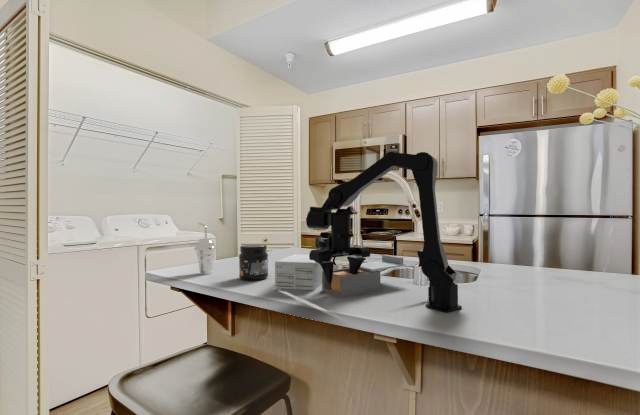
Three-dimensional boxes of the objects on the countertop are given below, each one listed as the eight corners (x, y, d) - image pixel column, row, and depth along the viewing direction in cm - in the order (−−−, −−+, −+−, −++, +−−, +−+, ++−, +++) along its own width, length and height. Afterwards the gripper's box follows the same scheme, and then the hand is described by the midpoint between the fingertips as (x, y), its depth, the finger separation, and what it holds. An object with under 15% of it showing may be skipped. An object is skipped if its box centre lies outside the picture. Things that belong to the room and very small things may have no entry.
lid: (405, 266, 107) (405, 257, 107) (371, 271, 99) (371, 262, 99) (383, 261, 115) (383, 254, 115) (350, 266, 107) (350, 258, 107)
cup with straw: (194, 276, 127) (193, 223, 127) (194, 272, 136) (194, 222, 136) (217, 274, 130) (216, 223, 130) (216, 270, 139) (216, 222, 139)
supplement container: (239, 276, 127) (239, 244, 127) (268, 274, 129) (267, 243, 129) (238, 282, 117) (237, 247, 117) (268, 280, 119) (268, 246, 119)
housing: (380, 292, 101) (380, 271, 101) (342, 300, 93) (342, 277, 93) (359, 286, 109) (358, 266, 109) (322, 292, 101) (322, 271, 101)
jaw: (352, 292, 98) (352, 273, 98) (340, 294, 96) (340, 275, 96) (343, 289, 102) (343, 271, 102) (331, 291, 100) (331, 273, 100)
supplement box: (315, 293, 102) (314, 262, 101) (274, 291, 105) (274, 261, 105) (327, 281, 118) (327, 254, 118) (292, 279, 121) (291, 253, 121)
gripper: (348, 227, 111) (348, 274, 111) (299, 229, 100) (299, 281, 100) (371, 229, 101) (371, 280, 101) (320, 231, 91) (320, 289, 91)
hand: (340, 282), depth 99 cm, fingers open, 8 cm apart
